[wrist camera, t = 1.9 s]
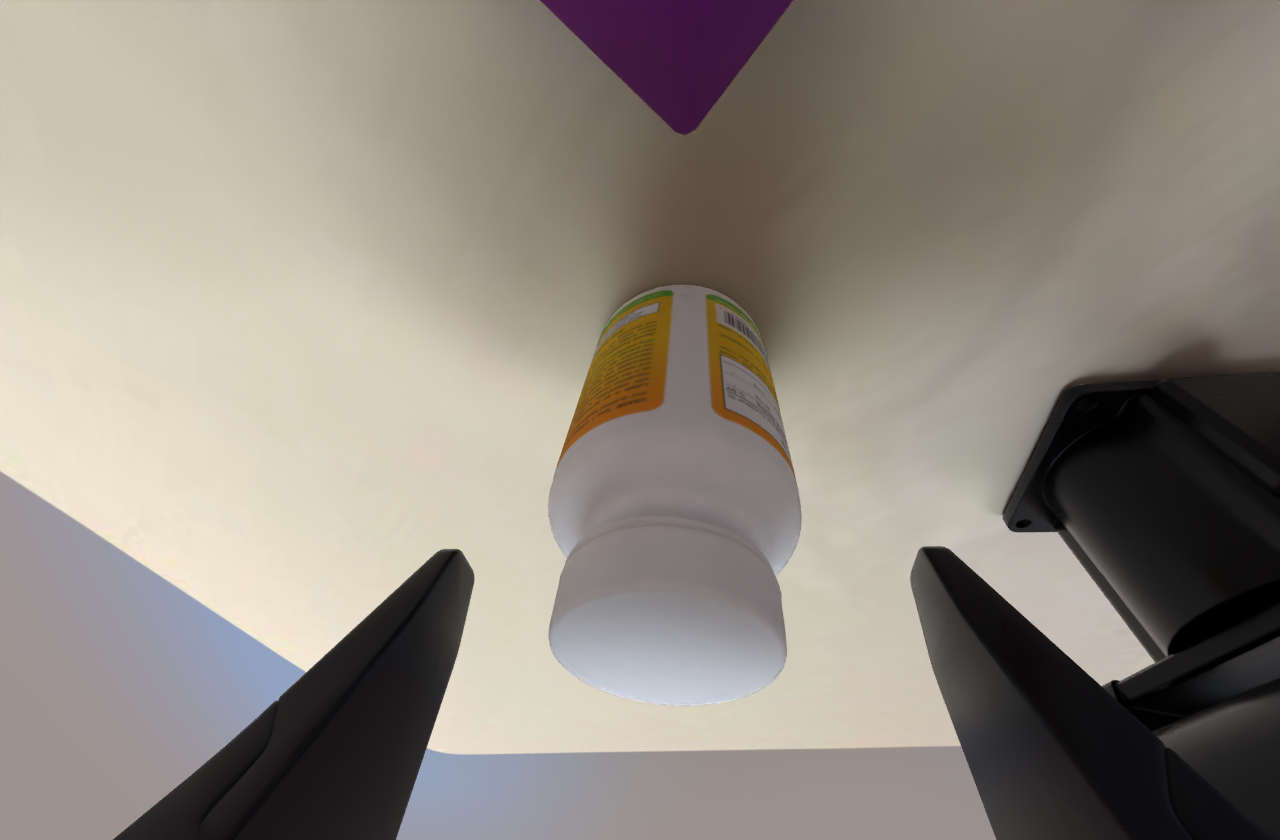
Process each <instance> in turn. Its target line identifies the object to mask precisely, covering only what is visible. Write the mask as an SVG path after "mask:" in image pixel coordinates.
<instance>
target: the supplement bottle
mask: <svg viewBox="0 0 1280 840" xmlns="http://www.w3.org/2000/svg"><path fill="white" fill-rule="evenodd" d="M548 505H549V520H550V525H551V530H552V532H553V535H554V537H555V540H556V542H557V544H558V545H559V547H560V549H561V551H562V552H563V554H564V555H565V557H566V558H567V560H566V563H565V566H564V569H563V571H562V573H561V576H560V581H559V586H558V590H557V594H556V599H555V603H554V608H553V612H552V617H551V621H550V626H549V642H550V647H551V650H552V652H553V654H554V656H555V658H556V659H557V660H558V662H559V663H560V664H561V665H562V666H563V667H564V668H565V669H566V670H567V671H568V672H570V673H571V674H572V675H574V676H575V677H577V678H578V679H580V680H582V681H583V682H585V683H586V684H588V685H590V686H592V687H595V688H597V689H599V690H602V691H605V692H607V693H610V694H613V695H616V696H620V697H623V698H627V699H632V700H636V701H640V702H646V703H653V704H661V705H680V706H687V705H706V704H716V703H722V702H728V701H731V700H735V699H739V698H742V697H745V696H748V695H750V694H753V693H755V692H757V691H759V690H761V689H763V688H764V687H766V686H767V685H769V684H770V683H771V682H772V681H773V680H775V679H776V678H777V676H778V675H779V674H780V672H781V671H782V669H783V667H784V664H785V661H786V656H787V645H786V635H785V626H784V618H783V611H782V602H781V591H780V586H779V584H778V581H777V579H776V577H775V576H776V575H777V574H778V573H779V572H780V571H781V570H782V569H783V568H784V567H785V565H786V564H787V562H788V561H789V559H790V558H791V556H792V554H793V551H794V549H795V547H796V545H797V542H798V539H799V535H800V530H801V505H800V499H799V493H798V487H797V483H796V478H795V474H794V469H793V465H792V462H791V457H790V453H789V449H788V445H787V440H786V436H785V431H784V427H783V423H782V418H781V414H780V409H779V405H778V400H777V396H776V392H775V388H774V384H773V379H772V375H771V371H770V366H769V362H768V358H767V354H766V350H765V346H764V344H763V341H762V338H761V335H760V333H759V331H758V329H757V327H756V325H755V323H754V322H753V320H752V319H751V317H750V316H749V315H748V313H747V312H746V311H745V310H744V309H743V308H742V307H741V306H739V305H738V304H737V303H736V302H735V301H733V300H732V299H730V298H729V297H727V296H725V295H723V294H721V293H719V292H717V291H715V290H712V289H709V288H705V287H701V286H696V285H682V284H679V285H668V286H662V287H658V288H654V289H651V290H649V291H646V292H644V293H641V294H639V295H637V296H635V297H634V298H632V299H631V300H629V301H627V302H626V303H625V304H624V305H622V306H621V307H620V308H619V309H618V310H617V311H616V312H615V313H614V314H613V316H612V317H611V318H610V320H609V321H608V323H607V324H606V326H605V328H604V330H603V332H602V334H601V336H600V339H599V341H598V344H597V347H596V350H595V353H594V356H593V359H592V362H591V366H590V369H589V371H588V374H587V377H586V380H585V383H584V386H583V389H582V392H581V395H580V398H579V401H578V404H577V407H576V411H575V414H574V416H573V419H572V422H571V425H570V428H569V431H568V434H567V437H566V440H565V443H564V446H563V449H562V452H561V455H560V458H559V461H558V464H557V468H556V471H555V474H554V478H553V482H552V486H551V490H550V495H549V504H548Z"/></svg>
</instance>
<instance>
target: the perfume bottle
mask: <svg viewBox="0 0 1280 840" xmlns="http://www.w3.org/2000/svg"><path fill="white" fill-rule="evenodd" d="M540 1H541V2H542V3H544V4H545V5H546V6H547V7H548V8H549V9H550V10H551V11H552V12H553V13H554V14H555V15H556V16H557V17H558V18H559V19H560V20H561V21H562V22H563V23H564V24H565V25H566V26H567V27H568V28H569V29H570V30H571V31H572V32H573V33H574V34H575V35H576V36H577V37H578V38H579V39H580V40H582V41H583V42H584V43H585V44H586V45H587V46H588V47H589V48H590V49H591V50H592V51H593V52H594V53H595V54H596V55H597V56H598V57H599V58H600V59H601V60H602V61H603V62H604V63H605V64H606V65H607V66H608V67H609V68H610V69H611V70H612V71H613V72H614V73H615V74H616V75H617V76H618V77H620V78H621V79H622V80H623V81H624V82H625V83H626V84H627V85H628V86H629V87H630V88H631V89H632V90H633V91H634V92H635V93H636V94H637V95H638V96H639V97H640V98H641V99H642V100H643V101H644V102H645V103H646V104H647V105H648V106H649V107H650V108H651V109H652V110H653V111H654V112H655V113H656V114H658V115H659V116H660V117H661V118H662V119H663V120H664V121H665V122H666V123H667V124H668V125H669V126H670V127H671V128H672V129H673V130H674V131H675V132H677V133H680V134H683V135H687V134H689V133H690V132H692V131H694V130H695V129H696V128H697V127H698V126H699V124H700V123H701V122H702V120H703V119H704V118H705V116H706V115H707V114H708V112H709V111H710V110H711V108H712V107H713V106H714V104H715V103H716V102H717V100H718V99H719V98H720V96H721V95H722V94H723V92H724V91H725V90H726V88H727V87H728V86H729V85H730V83H731V82H732V81H733V79H734V78H735V77H736V75H737V74H738V73H739V71H740V70H741V69H742V67H743V66H744V65H745V63H746V62H747V61H748V59H749V58H750V57H751V55H752V54H753V53H754V51H755V50H756V49H757V47H758V46H759V45H760V43H761V42H762V41H763V39H764V38H765V37H766V36H767V34H768V33H769V32H770V30H771V29H772V28H773V26H774V25H775V24H776V22H777V21H778V20H779V18H780V17H781V16H782V14H783V13H784V12H785V10H786V9H787V8H788V6H789V5H790V4H791V2H792V1H793V0H540Z"/></svg>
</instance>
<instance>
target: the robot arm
mask: <svg viewBox="0 0 1280 840" xmlns="http://www.w3.org/2000/svg"><path fill="white" fill-rule="evenodd" d="M1083 400H1085V401H1083ZM1081 401H1083V402H1081ZM1080 402H1081V403H1080ZM1003 520H1004V522H1005V523H1006V525H1007V526H1008V528H1009V529H1010V530H1011V531H1013V532H1058V533H1059V535H1060V536H1061V537H1062V539H1063V540H1064V541H1065V543H1066V544H1067V545H1068V547H1069V548H1070V549H1071V551H1072V552H1073V553H1074V555H1075V556H1076V557H1077V559H1078V560H1079V561H1080V563H1081V564H1082V565H1083V567H1084V568H1085V569H1086V571H1087V572H1088V573H1089V575H1090V576H1091V577H1092V579H1093V580H1094V581H1095V583H1096V584H1097V585H1098V587H1099V588H1100V589H1101V591H1102V592H1103V593H1104V595H1105V596H1106V597H1107V599H1108V600H1109V601H1110V603H1111V604H1112V605H1113V607H1114V608H1115V609H1116V611H1117V612H1118V613H1119V615H1120V616H1121V617H1122V619H1123V620H1124V621H1125V623H1126V624H1127V625H1128V627H1129V628H1130V629H1131V631H1132V632H1133V633H1134V635H1135V636H1136V637H1137V639H1138V640H1139V641H1140V643H1141V644H1142V645H1143V647H1144V648H1145V649H1146V651H1147V652H1148V653H1149V655H1150V656H1151V657H1152V659H1153V660H1154V661H1155V663H1154V664H1152V665H1150V666H1148V667H1146V668H1144V669H1143V670H1141V671H1139V672H1137V673H1135V674H1133V675H1131V676H1129V677H1127V678H1125V679H1123V680H1122V681H1118V680H1113V681H1111V682H1109V683H1107V684H1105V685H1103V686H1100V685H1099V684H1098V683H1097V682H1096V681H1095V680H1094V679H1093V678H1092V677H1090V676H1089V675H1088V674H1087V673H1086V672H1085V671H1084V670H1083V669H1082V668H1080V667H1079V666H1078V665H1077V664H1076V663H1075V662H1074V661H1073V660H1072V659H1070V658H1069V657H1068V656H1067V655H1066V654H1065V653H1064V652H1063V651H1062V650H1060V649H1059V648H1058V647H1057V646H1056V645H1055V644H1054V643H1053V642H1052V641H1050V640H1049V639H1048V638H1047V637H1046V636H1045V635H1044V634H1043V633H1042V632H1041V631H1039V630H1038V629H1037V628H1036V627H1035V626H1034V625H1033V624H1032V623H1031V622H1029V621H1028V620H1027V619H1026V618H1025V617H1024V616H1023V615H1022V614H1021V613H1019V612H1018V611H1017V610H1016V609H1015V608H1014V607H1013V606H1012V605H1011V604H1009V603H1008V602H1007V601H1006V600H1005V599H1004V598H1003V597H1002V596H1001V595H999V594H998V593H997V592H996V591H995V590H994V589H993V588H992V587H991V586H989V585H988V584H987V583H986V582H985V581H984V580H983V579H982V578H981V577H979V576H978V575H977V574H976V573H975V572H974V571H973V570H972V569H971V568H970V567H968V566H967V565H966V564H965V563H964V562H963V561H962V560H961V559H960V558H958V557H957V556H956V555H955V554H954V553H953V552H952V551H951V550H949V549H948V548H945V547H941V546H932V547H922V548H920V549H919V551H918V553H917V556H916V559H915V562H914V565H913V568H912V571H911V576H910V579H911V586H912V590H913V594H914V598H915V602H916V606H917V610H918V614H919V618H920V622H921V626H922V630H923V634H924V638H925V642H926V646H927V649H928V653H929V657H930V661H931V664H932V668H933V671H934V674H935V677H936V680H937V683H938V685H939V688H940V691H941V693H942V696H943V699H944V701H945V704H946V707H947V709H948V712H949V714H950V717H951V720H952V722H953V725H954V728H955V730H956V733H957V736H958V738H959V741H960V744H961V746H962V749H963V752H964V754H965V757H966V760H967V762H968V765H969V768H970V770H971V773H972V776H973V778H974V781H975V784H976V786H977V789H978V791H979V794H980V797H981V800H982V802H983V805H984V808H985V810H986V813H987V816H988V818H989V821H990V824H991V826H992V829H993V832H994V834H995V837H996V840H1280V374H1264V373H1262V374H1244V375H1226V376H1208V377H1189V378H1171V379H1167V380H1153V381H1135V382H1117V383H1098V384H1084V385H1078V386H1075V387H1073V388H1071V389H1069V390H1068V391H1067V392H1065V393H1064V394H1063V395H1062V397H1061V398H1060V400H1059V402H1058V404H1057V406H1056V408H1055V410H1054V412H1053V414H1052V416H1051V418H1050V420H1049V422H1048V425H1047V427H1046V429H1045V431H1044V433H1043V435H1042V437H1041V439H1040V441H1039V443H1038V445H1037V447H1036V449H1035V451H1034V453H1033V455H1032V457H1031V460H1030V462H1029V464H1028V466H1027V468H1026V470H1025V472H1024V474H1023V476H1022V478H1021V480H1020V482H1019V484H1018V486H1017V488H1016V490H1015V492H1014V494H1013V497H1012V499H1011V501H1010V503H1009V505H1008V507H1007V509H1006V511H1005V513H1004V515H1003ZM473 585H474V573H473V570H472V568H471V567H470V565H469V563H468V561H467V560H466V558H465V556H464V554H463V553H462V551H460V550H459V549H443V550H440V551H438V552H437V553H436V554H434V555H433V556H432V557H431V558H430V559H429V560H428V561H427V562H426V563H425V564H424V565H422V566H421V567H420V568H419V569H418V570H417V571H416V572H415V573H414V574H413V575H412V576H411V577H409V578H408V579H407V580H406V581H405V582H404V583H403V584H402V585H401V586H400V587H399V588H398V589H396V590H395V591H394V592H393V593H392V594H391V595H390V596H389V597H388V598H387V599H386V600H385V601H383V602H382V603H381V604H380V605H379V606H378V607H377V608H376V609H375V610H374V611H373V612H372V613H370V614H369V615H368V616H367V617H366V618H365V619H364V620H363V621H362V622H361V623H360V624H358V625H357V626H356V627H355V628H354V629H353V630H352V631H351V632H350V633H349V634H348V635H347V636H345V637H344V638H343V639H342V640H341V641H340V642H339V643H338V644H337V645H336V646H335V647H334V648H332V649H331V650H330V651H329V652H328V653H327V654H326V655H325V656H324V657H323V658H322V659H321V660H319V661H318V662H317V663H316V664H315V665H314V666H313V667H312V668H311V669H310V670H309V671H308V672H306V673H305V674H304V675H303V676H302V677H301V678H300V679H299V680H298V681H297V682H296V683H295V684H294V685H292V686H291V687H290V688H289V689H288V690H287V691H286V692H285V693H284V694H283V695H282V696H281V697H280V698H279V701H275V702H274V703H273V704H272V705H270V706H269V707H268V708H267V709H266V710H265V711H264V712H263V713H262V714H261V715H260V716H259V717H257V719H255V720H254V721H253V722H252V723H251V724H250V725H249V726H248V727H246V728H245V729H244V730H243V731H242V732H241V733H240V734H239V735H237V736H236V737H235V738H234V739H233V740H232V741H231V742H230V743H228V744H227V745H226V746H225V747H224V748H223V749H222V750H220V751H219V752H218V753H217V754H216V755H215V756H213V757H212V758H211V759H210V760H209V761H207V762H206V763H205V764H204V765H203V766H201V767H200V768H199V769H198V770H197V771H196V772H194V773H193V774H192V775H191V776H190V777H188V778H187V779H186V780H185V781H184V782H182V783H181V784H180V785H179V786H177V788H175V789H174V790H173V791H171V792H170V793H169V794H168V795H167V796H166V797H164V798H163V799H162V800H160V801H159V802H158V803H157V804H156V805H154V806H153V807H152V808H151V809H150V810H148V811H147V812H146V813H145V814H143V815H142V816H141V817H140V818H139V819H137V820H136V821H135V822H134V823H133V824H131V825H130V826H129V827H128V828H127V829H125V830H124V831H123V832H122V833H120V834H119V835H118V836H117V837H116V838H115V839H113V840H396V837H397V834H398V831H399V828H400V825H401V822H402V820H403V816H404V814H405V811H406V807H407V805H408V802H409V798H410V795H411V792H412V790H413V787H414V783H415V781H416V778H417V775H418V772H419V768H420V766H421V763H422V760H423V757H424V753H425V751H426V748H427V745H428V742H429V739H430V736H431V733H432V730H433V727H434V724H435V721H436V718H437V715H438V712H439V709H440V706H441V703H442V700H443V697H444V694H445V691H446V688H447V685H448V682H449V679H450V676H451V673H452V670H453V667H454V664H455V660H456V657H457V654H458V650H459V646H460V642H461V638H462V634H463V629H464V625H465V620H466V616H467V611H468V607H469V603H470V598H471V594H472V589H473Z"/></svg>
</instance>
